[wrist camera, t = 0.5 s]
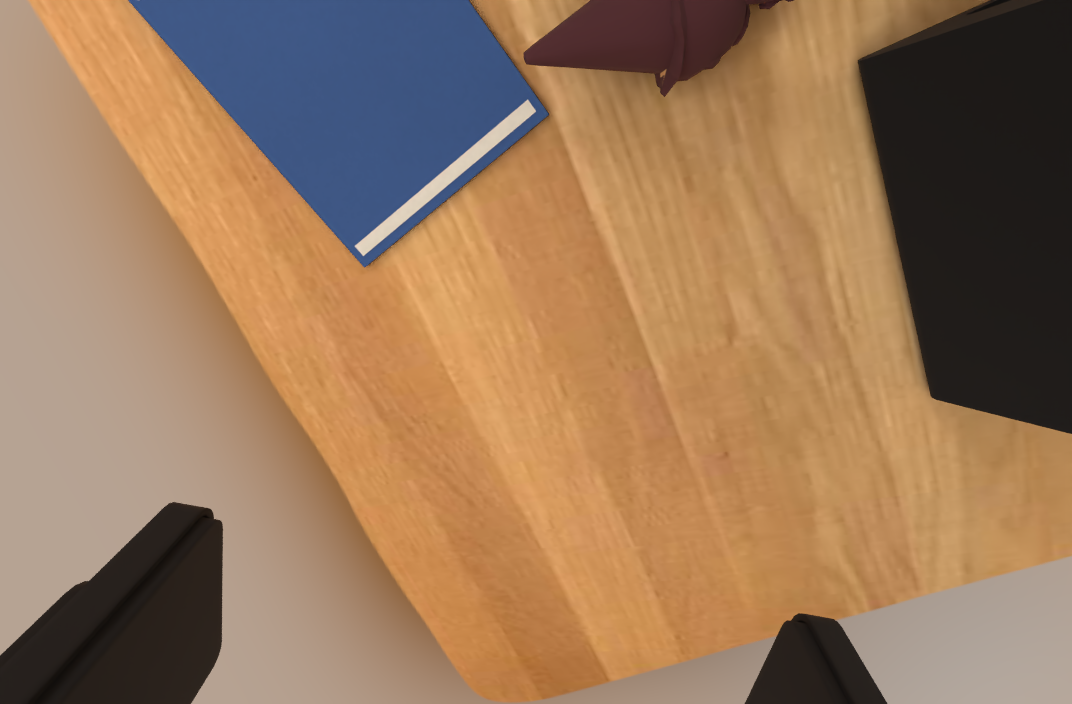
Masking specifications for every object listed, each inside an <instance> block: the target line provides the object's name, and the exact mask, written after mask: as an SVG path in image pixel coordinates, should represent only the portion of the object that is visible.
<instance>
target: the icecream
mask: <svg viewBox="0 0 1072 704" xmlns="http://www.w3.org/2000/svg"><path fill="white" fill-rule="evenodd" d="M779 1H781V0H590V1H589V2H588V3H587V4H585V5H584V6H583V7H581V8H580V9H579V10H578V11H576V12H575V13H574V14H572V15H571V16H570V17H569V18H567V19H566V20H565V21H564V22H562V23H561V24H560V25H558V26H557V27H556V28H554V29H553V30H552V31H550V32H549V33H548V34H547V35H545V36H544V37H543V38H541V39H540V40H539V41H537V42H536V43H535V44H533V45H532V46H531V47H530V48H529V49H527V50H526V51H525V52H524V60H525V62H526V64H529V65H538V66H554V67H570V68H585V69H599V70H613V71H627V72H641V73H654V74H655V78H656V83H657V86H658V87H659V88H660V93H661V94H662V95H663V96H664V97H665V96H666V95H667V93H668V92H669V91H670V89H671V88H672V87H673V85H674V84H675V83H676V82H677V81H685V80H688V79H690V78H691V77H693V76H694V75H696V74H697V73H699V72H701V71H702V70H704V69H711V68H714V67H715V66H716V65H717V64H718V63H719V61H720V59H721V57H722V56H723V55H724V54H725V53H726V52H727V51H728V50H729V49H730V48H731V46H734V45H736V44H738V43H739V41H740V40H741V39H742V37H743V35H744V33H745V31H746V29H747V27H748V23H749V17H750V9H749V5H750V4H759V8H760V9H770V8H771V7H773V6H774V5H775V4H776V3H778V2H779ZM786 1H788V2H789V1H793V0H786Z"/></svg>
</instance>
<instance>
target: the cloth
mask: <svg viewBox="0 0 1072 704" xmlns="http://www.w3.org/2000/svg"><path fill="white" fill-rule="evenodd" d="M128 1H129V2H130V3H131V4H132V5H133V6H134V7H135V8H136V10H137V11H138V12H139V13H140V14H141V15H142V16H143V18H144V19H145V20H146V21H147V22H148V23H149V24H150V25H151V27H152V28H153V29H154V30H155V31H156V32H157V33H158V35H159V36H160V37H161V38H162V39H163V40H164V41H165V42H166V44H167V45H168V46H169V47H170V48H171V49H172V50H173V51H174V53H175V54H176V55H177V56H178V57H179V58H180V59H181V61H182V62H183V63H184V64H185V65H186V66H187V67H188V68H189V70H190V71H191V72H192V73H193V74H194V75H195V76H196V77H197V79H198V80H199V81H200V82H201V83H202V84H203V85H204V87H205V88H206V89H207V90H208V91H209V92H210V93H211V94H212V96H213V97H214V98H215V99H216V100H217V101H218V102H219V104H220V105H221V106H222V107H223V108H224V109H225V110H226V111H227V113H228V114H229V115H230V116H231V117H232V118H233V119H234V120H235V122H236V123H237V124H238V125H239V126H240V127H241V128H242V130H243V131H244V132H245V133H246V134H247V135H248V136H249V137H250V139H251V140H252V141H253V142H254V143H255V144H256V145H257V146H258V148H259V149H260V150H261V151H262V152H263V153H264V154H265V156H266V157H267V158H268V159H269V160H270V161H271V162H272V163H273V165H274V166H275V167H276V168H277V169H278V170H279V171H280V173H281V174H282V175H283V176H284V177H285V178H286V179H287V180H288V182H289V183H290V184H291V185H292V186H293V187H294V188H295V189H296V191H297V192H298V193H299V194H300V195H301V196H302V197H303V199H304V200H305V201H306V202H307V203H308V204H309V205H310V206H311V208H312V209H313V210H314V211H315V212H316V213H317V214H318V216H319V217H320V218H321V219H322V220H323V221H324V222H325V223H326V225H327V226H328V227H329V228H330V229H331V230H332V231H333V232H334V234H335V235H336V236H337V237H338V238H339V239H340V240H341V242H342V243H343V244H344V245H345V246H346V247H347V248H348V249H349V251H350V252H351V253H352V254H353V255H354V256H355V257H356V258H357V260H358V261H359V262H360V263H361V264H362V265H363V266H364V267H366V266H367V265H369V264H370V263H371V262H372V261H374V260H375V259H376V258H377V257H378V256H380V255H381V254H382V253H383V252H384V251H386V250H387V249H388V248H389V247H390V246H392V245H393V244H394V243H395V242H396V241H398V240H399V239H400V238H401V237H402V236H404V235H405V234H406V233H407V232H408V231H410V230H411V229H412V228H413V227H414V226H416V225H417V224H418V223H419V222H420V221H422V220H423V219H424V218H425V217H427V216H428V215H429V214H430V213H431V212H433V211H434V210H435V209H436V208H437V207H439V206H440V205H441V204H442V203H443V202H445V201H446V200H447V199H448V198H449V197H451V196H452V195H453V194H454V193H455V192H457V191H458V190H459V189H460V188H461V187H463V186H464V185H465V184H466V183H467V182H469V181H470V180H471V179H472V178H473V177H475V176H476V175H477V174H478V173H480V172H481V171H482V170H483V169H484V168H486V167H487V166H488V165H489V164H490V163H492V162H493V161H494V160H495V159H496V158H498V157H499V156H500V155H501V154H502V153H504V152H505V151H506V150H507V149H508V148H510V147H511V146H512V145H513V144H514V143H516V142H517V141H518V140H519V139H520V138H522V137H523V136H524V135H525V134H526V133H528V132H529V131H530V130H531V129H533V128H534V127H535V126H536V125H537V124H539V123H540V122H541V121H542V120H543V119H545V118H546V117H547V116H548V115H549V113H548V112H547V111H546V109H545V108H544V106H543V105H542V104H541V102H540V101H539V99H538V98H537V96H536V95H535V94H534V92H533V91H532V89H531V88H530V87H529V85H528V84H527V82H526V81H525V79H524V78H523V77H522V75H521V74H520V72H519V71H518V70H517V68H516V67H515V65H514V64H513V62H512V61H511V60H510V58H509V57H508V55H507V54H506V53H505V51H504V50H503V48H502V47H501V45H500V44H499V43H498V41H497V40H496V38H495V37H494V36H493V34H492V33H491V31H490V30H489V28H488V27H487V26H486V24H485V23H484V21H483V20H482V19H481V17H480V16H479V14H478V13H477V11H476V10H475V9H474V7H473V6H472V4H471V3H470V2H469V0H128Z"/></svg>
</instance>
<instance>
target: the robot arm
mask: <svg viewBox="0 0 1072 704" xmlns="http://www.w3.org/2000/svg"><path fill="white" fill-rule="evenodd" d="M222 545H223V526H222V522H221V521H220V520H216V519H214V516H213V512H212V510H211V509H209V508H204V507H198V506H192V505H187V504H181V503H176V502H173V503H169V504H168V505H167V506H165V507H164V508H163V509H162V510H161V511H160V512H159V513H158V514H157V515H156V516H155V517H154V518H153V519H152V520H151V521H150V522H149V523H148V524H147V525H146V526H145V527H144V528H143V529H142V530H141V531H140V532H139V533H138V534H136V536H135V537H133V538H132V539H131V540H130V541H129V543H127V544H126V545H125V546H124V547H123V548H122V549H121V550H120V551H119V552H118V553H117V554H116V555H115V556H114V557H113V558H112V559H111V560H110V561H109V562H108V563H107V564H106V565H105V566H104V567H103V568H102V569H101V570H100V571H99V572H98V573H97V574H96V575H95V576H94V577H93V578H92V579H91V580H90V581H84V582H82V583H80V584H77V585H75V586H74V587H73V588H71V589H70V590H69V591H68V592H66V593H65V594H64V595H63V596H62V597H61V598H60V599H59V600H58V601H57V602H56V603H55V604H54V605H53V606H51V607H50V608H49V610H47V611H46V612H45V613H44V614H43V615H42V616H41V617H40V618H39V619H38V620H37V621H36V622H35V623H34V624H33V625H32V626H31V627H30V628H29V629H28V630H26V631H25V633H23V634H22V635H21V636H20V637H19V638H18V639H17V640H16V641H15V642H14V643H13V644H12V645H11V646H10V647H9V648H8V649H7V650H6V651H5V652H4V653H2V654H1V655H0V704H191V703H192V701H193V699H194V698H195V696H196V695H197V693H198V691H199V689H200V688H201V686H202V685H203V683H204V682H205V680H206V678H207V677H208V675H209V674H210V672H211V670H212V669H213V667H214V665H215V663H216V660H217V658H218V656H219V652H220V649H221V642H222V551H223V546H222ZM745 704H887V702H886V701H885V699H884V697H883V696H882V694H881V692H880V691H879V689H878V687H877V685H876V684H875V682H874V680H873V679H872V677H871V676H870V674H869V672H868V670H867V669H866V667H865V665H864V664H863V662H862V660H861V659H860V657H859V655H858V653H857V652H856V650H855V648H854V647H853V645H852V644H851V642H850V640H849V639H848V637H847V635H846V634H845V632H844V630H843V628H842V627H841V626H840V624H839V623H838V622H837V621H835V620H834V619H830V618H825V617H819V616H813V615H808V614H800V613H798V614H797V615H795V616H794V617H793V619H792V620H791V621H786V622H784V624H783V625H782V627H781V629H780V631H779V633H778V635H777V637H776V639H775V642H774V644H773V646H772V648H771V650H770V652H769V654H768V656H767V658H766V660H765V662H764V665H763V667H762V669H761V671H760V673H759V675H758V677H757V679H756V681H755V683H754V686H753V688H752V690H751V692H750V694H749V696H748V698H747V700H746V702H745Z"/></svg>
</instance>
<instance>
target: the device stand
mask: <svg viewBox="0 0 1072 704" xmlns="http://www.w3.org/2000/svg"><path fill="white" fill-rule="evenodd" d="M858 63H859V68H860V73H861V77H862V82H863V86H864V91H865V96H866V100H867V105H868V109H869V114H870V119H871V123H872V128H873V132H874V137H875V142H876V146H877V151H878V155H879V160H880V165H881V169H882V174H883V178H884V183H885V188H886V192H887V197H888V202H889V206H890V211H891V215H892V220H893V225H894V229H895V234H896V238H897V243H898V248H899V252H900V257H901V261H902V266H903V271H904V275H905V280H906V284H907V289H908V294H909V298H910V303H911V307H912V312H913V317H914V321H915V326H916V330H917V335H918V340H919V344H920V349H921V353H922V358H923V363H924V367H925V372H926V377H927V381H928V386H929V390H930V395H931V397H932V398H934V399H936V400H940V401H944V402H948V403H952V404H956V405H959V406H963V407H967V408H971V409H975V410H979V411H983V412H987V413H991V414H995V415H999V416H1003V417H1007V418H1011V419H1015V420H1019V421H1023V422H1027V423H1031V424H1034V425H1038V426H1042V427H1046V428H1050V429H1054V430H1058V431H1062V432H1066V433H1070V434H1072V0H990V1H988V2H985V3H983V4H981V5H979V6H976V7H974V8H972V9H970V10H967V11H965V12H963V13H961V14H959V15H956V16H954V17H952V18H950V19H947V20H945V21H943V22H941V23H939V24H936V25H934V26H932V27H930V28H927V29H925V30H923V31H921V32H918V33H916V34H914V35H912V36H910V37H907V38H905V39H903V40H901V41H898V42H896V43H894V44H892V45H890V46H887V47H885V48H883V49H881V50H878V51H876V52H874V53H872V54H870V55H867V56H865V57H863V58H861V59H859V60H858Z"/></svg>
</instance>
